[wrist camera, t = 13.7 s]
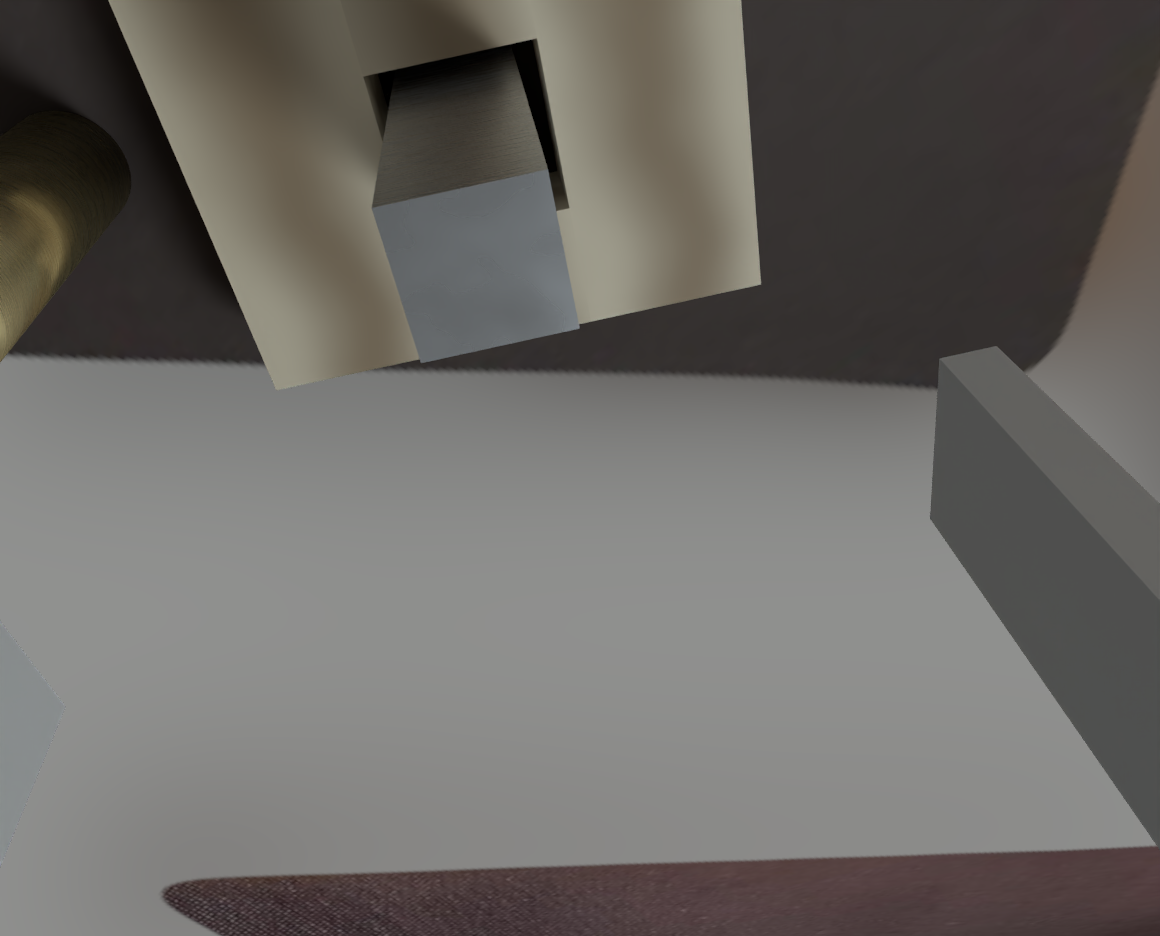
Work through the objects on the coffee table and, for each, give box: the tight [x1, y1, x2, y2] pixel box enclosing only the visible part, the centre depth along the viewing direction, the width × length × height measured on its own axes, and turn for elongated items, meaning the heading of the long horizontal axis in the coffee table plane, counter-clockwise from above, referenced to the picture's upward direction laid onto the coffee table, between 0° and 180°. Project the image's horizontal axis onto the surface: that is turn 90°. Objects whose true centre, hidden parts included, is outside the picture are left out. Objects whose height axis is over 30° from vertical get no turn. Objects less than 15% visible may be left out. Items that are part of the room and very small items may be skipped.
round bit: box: [0, 111, 131, 362], centre depth 28 cm, size 4×4×12 cm
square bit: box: [372, 44, 580, 363], centre depth 28 cm, size 4×4×14 cm
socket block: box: [108, 0, 761, 390], centre depth 32 cm, size 18×14×4 cm
